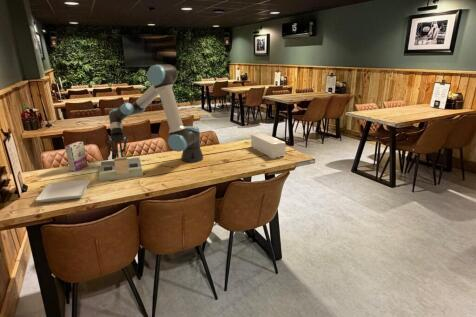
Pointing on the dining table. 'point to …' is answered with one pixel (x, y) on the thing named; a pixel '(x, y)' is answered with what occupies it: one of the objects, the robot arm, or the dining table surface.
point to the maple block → (121, 165)
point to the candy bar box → (76, 156)
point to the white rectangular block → (268, 145)
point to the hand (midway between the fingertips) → (120, 161)
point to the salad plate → (63, 191)
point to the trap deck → (110, 174)
